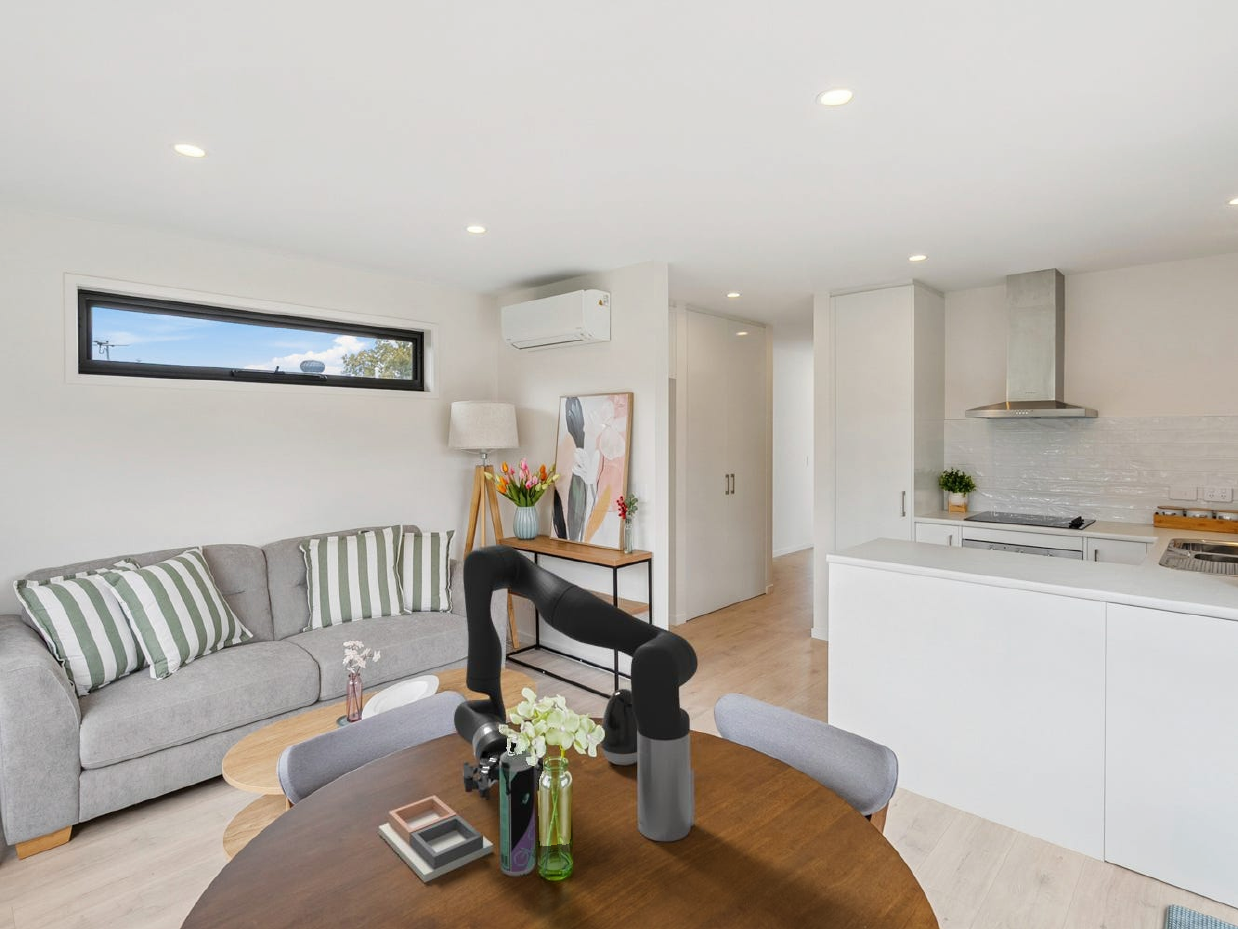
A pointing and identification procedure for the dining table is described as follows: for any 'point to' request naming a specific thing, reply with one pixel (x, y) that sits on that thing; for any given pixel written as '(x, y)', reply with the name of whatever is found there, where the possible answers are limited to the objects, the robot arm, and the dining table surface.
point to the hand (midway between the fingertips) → (514, 790)
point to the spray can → (517, 813)
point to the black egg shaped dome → (620, 729)
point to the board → (433, 838)
